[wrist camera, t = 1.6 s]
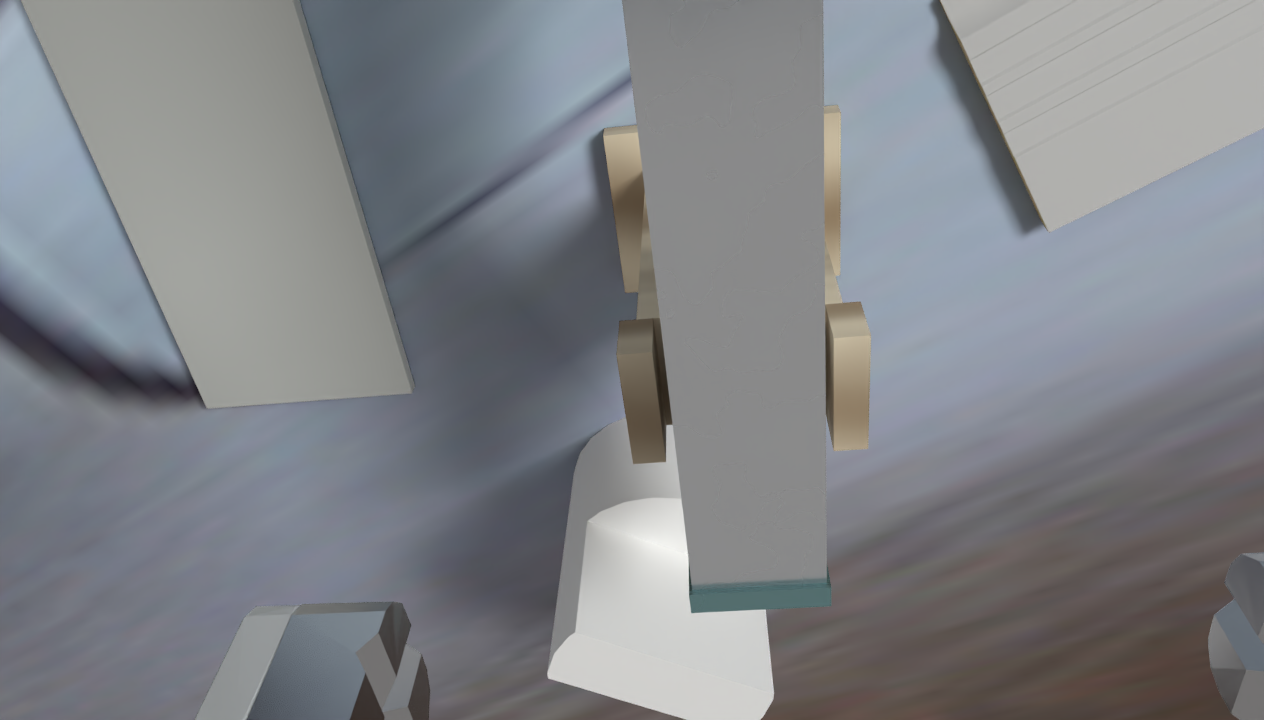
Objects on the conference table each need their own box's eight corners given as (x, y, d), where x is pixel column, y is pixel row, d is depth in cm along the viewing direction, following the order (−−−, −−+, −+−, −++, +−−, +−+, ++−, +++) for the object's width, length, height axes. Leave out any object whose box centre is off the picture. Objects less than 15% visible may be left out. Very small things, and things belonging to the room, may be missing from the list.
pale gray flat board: (-223, -566, 27) (-240, -571, 27) (111, -628, 26) (99, -635, 26) (212, 400, 46) (206, 408, 45) (415, 385, 45) (412, 393, 44)
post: (604, 128, 38) (573, 312, 26) (837, 104, 37) (910, 284, 25) (625, 283, 41) (607, 502, 30) (837, 265, 40) (900, 484, 29)
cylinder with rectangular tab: (547, 514, 49) (515, 718, 39) (614, 385, 45) (597, 579, 35) (706, 567, 51) (713, 775, 41) (787, 448, 46) (817, 650, 36)
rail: (538, -804, 16) (499, -947, 12) (792, -854, 16) (826, -1016, 12) (689, 516, 33) (690, 613, 29) (814, 509, 32) (831, 606, 29)
